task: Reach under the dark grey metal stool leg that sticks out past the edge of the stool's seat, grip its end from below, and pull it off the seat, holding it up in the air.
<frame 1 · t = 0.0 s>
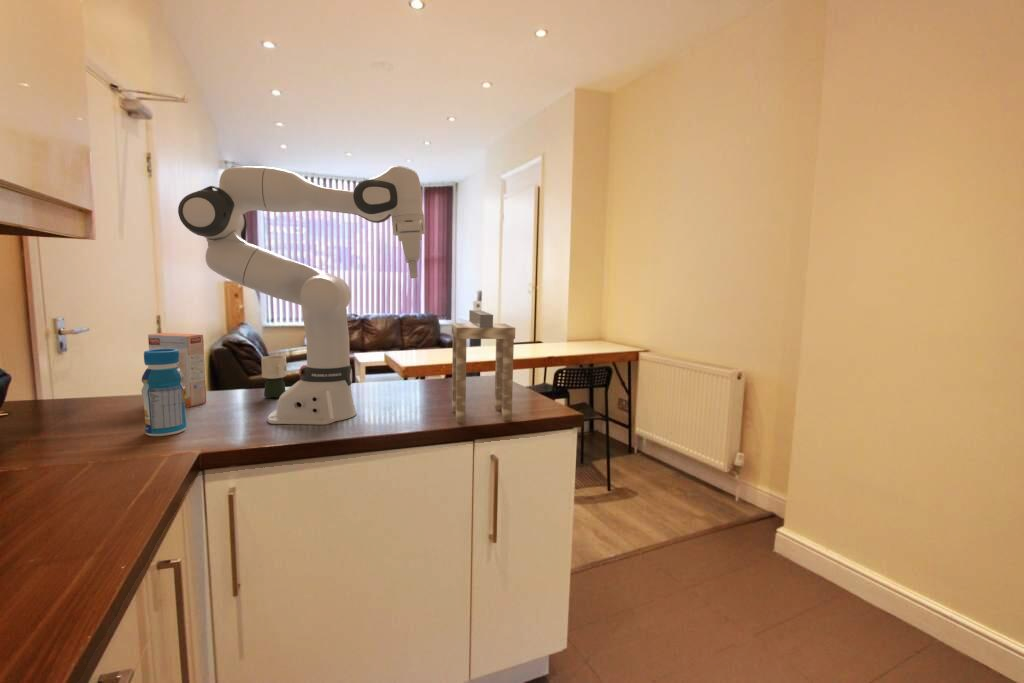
hand: (414, 278, 133), 39 cm above the worktop, tool pointing down, fingers open, 8 cm apart
stool: (480, 414, 137), on the worktop
beverage bottle: (166, 432, 115), on the worktop
cracker box: (179, 404, 141), on the worktop
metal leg: (480, 324, 138), point 26 cm above the worktop, touching stool
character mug: (275, 397, 151), on the worktop
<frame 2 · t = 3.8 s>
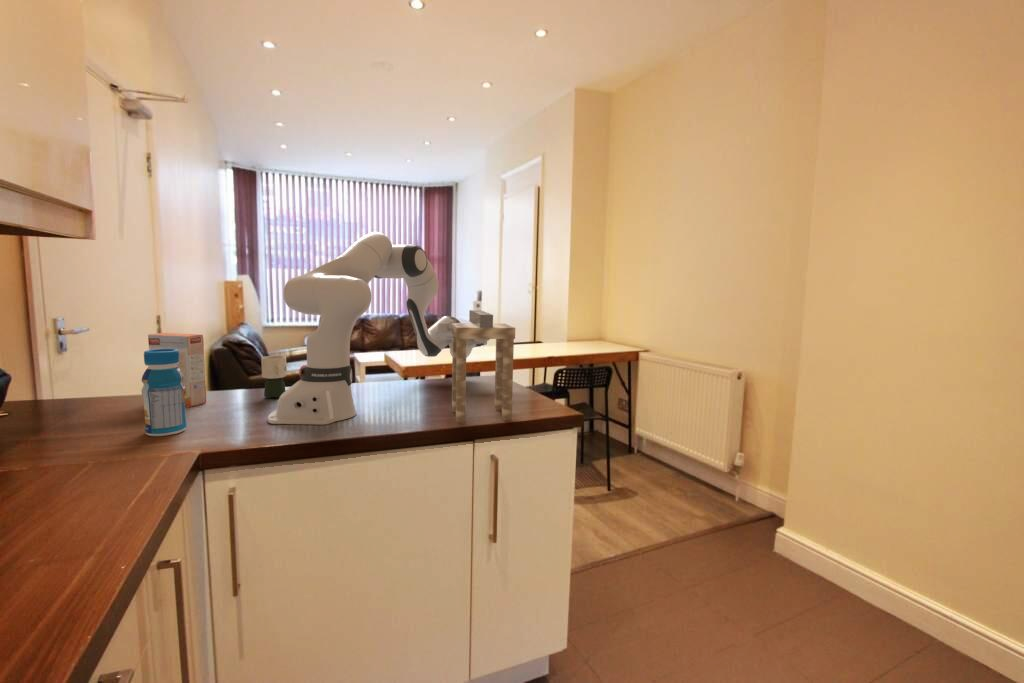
hand: (468, 321, 165), 25 cm above the worktop, tool pointing upward, fingers open, 8 cm apart
nothing on the worktop moved.
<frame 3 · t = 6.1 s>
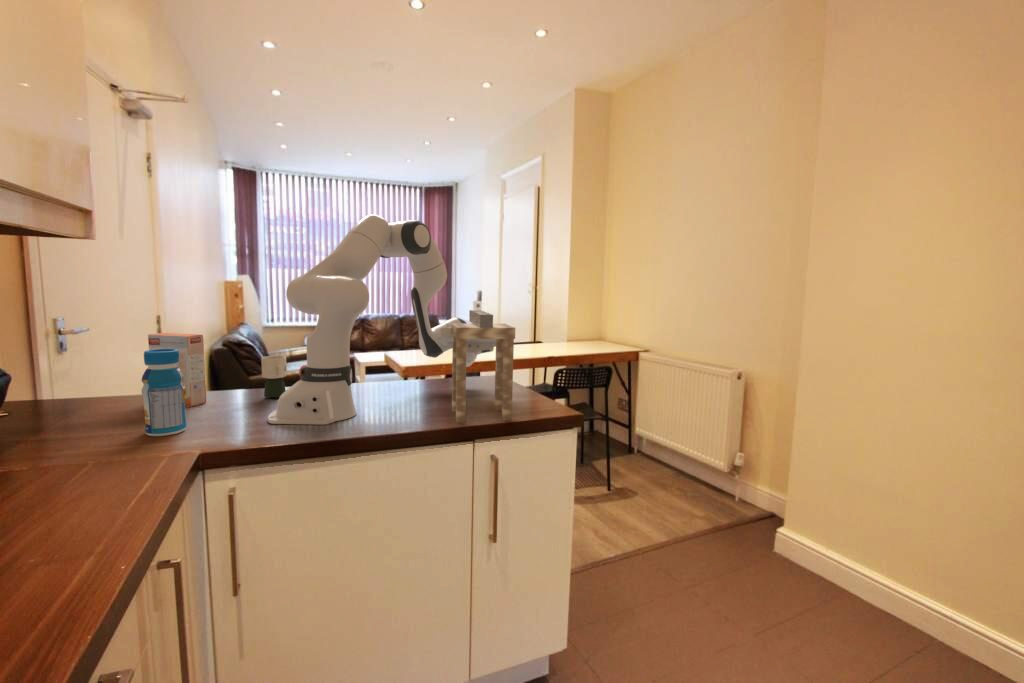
hand: (473, 325, 151), 24 cm above the worktop, tool pointing upward, fingers open, 8 cm apart
nothing on the worktop moved.
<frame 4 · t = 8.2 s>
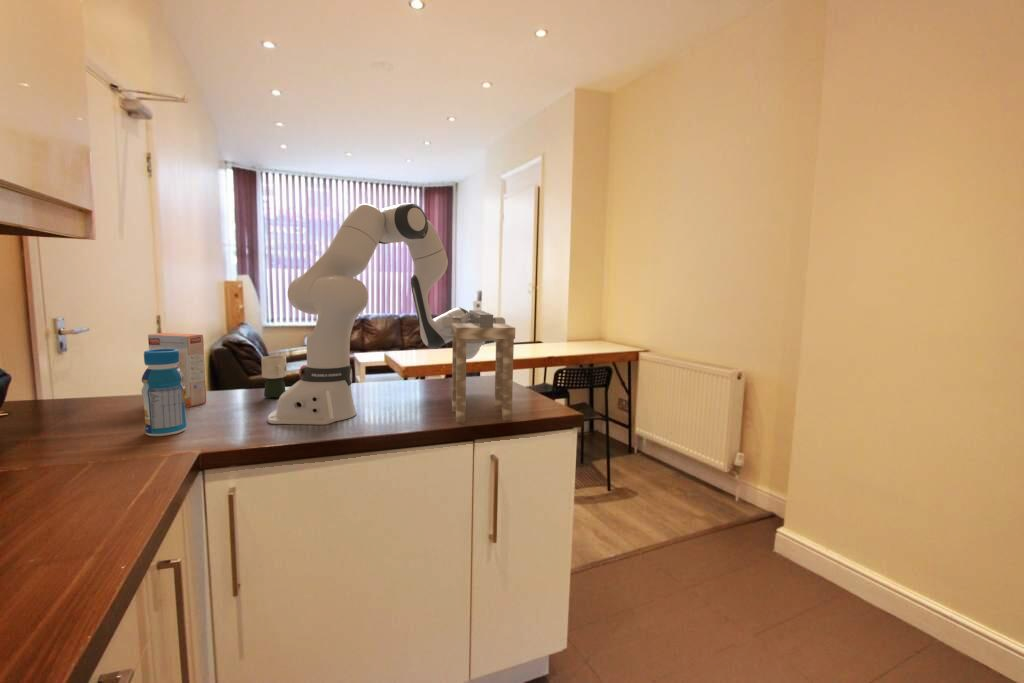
hand: (476, 315, 145), 28 cm above the worktop, tool pointing upward, fingers closed on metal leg, 3 cm apart
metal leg: (480, 324, 138), point 26 cm above the worktop, touching gripper, stool
everything else where it was.
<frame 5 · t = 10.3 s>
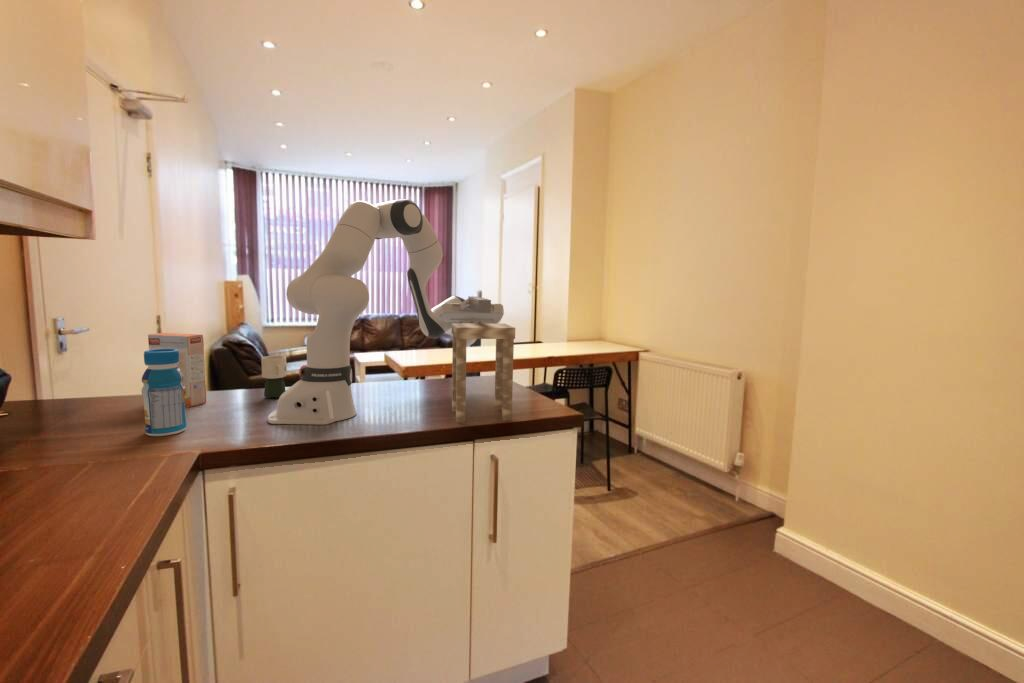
hand: (475, 301, 148), 32 cm above the worktop, tool pointing upward, fingers closed on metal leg, 3 cm apart
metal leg: (478, 309, 141), point 30 cm above the worktop, touching gripper
everything else where it was.
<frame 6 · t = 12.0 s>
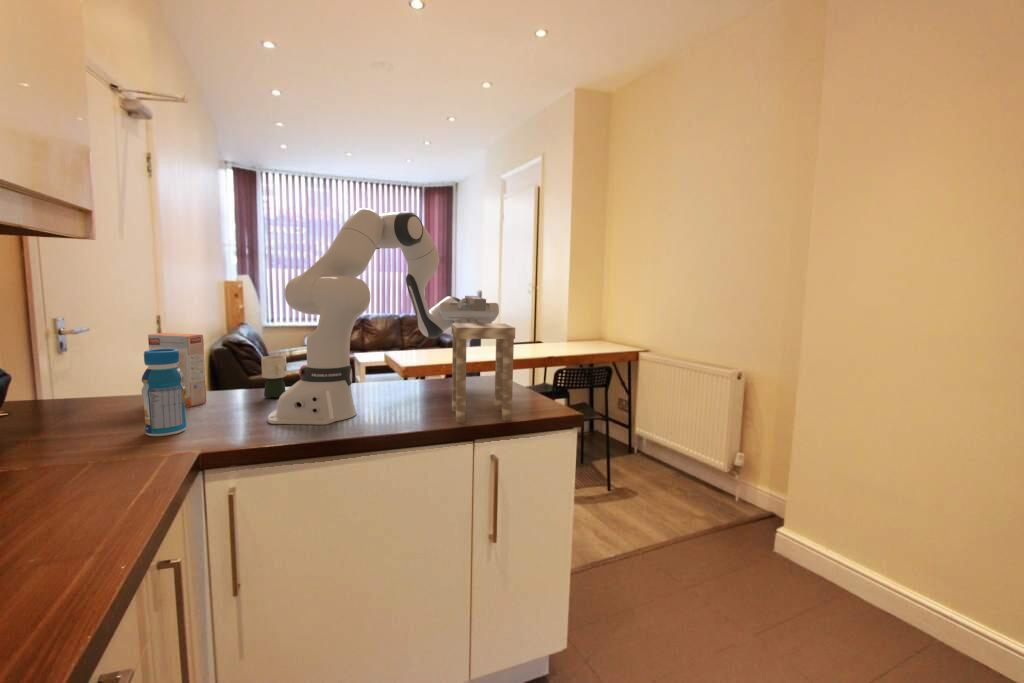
hand: (471, 300, 156), 32 cm above the worktop, tool pointing upward, fingers closed on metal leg, 3 cm apart
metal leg: (474, 308, 149), point 30 cm above the worktop, touching gripper
everything else where it was.
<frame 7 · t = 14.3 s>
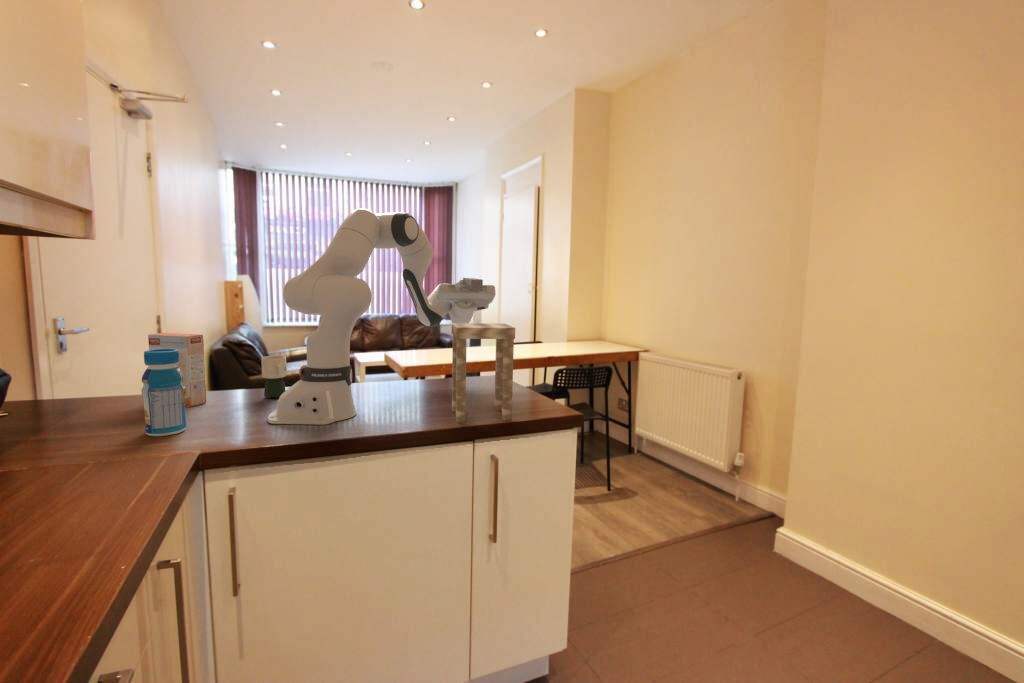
hand: (469, 281, 162), 38 cm above the worktop, tool pointing upward, fingers closed on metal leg, 3 cm apart
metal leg: (471, 289, 155), point 36 cm above the worktop, touching gripper
everything else where it was.
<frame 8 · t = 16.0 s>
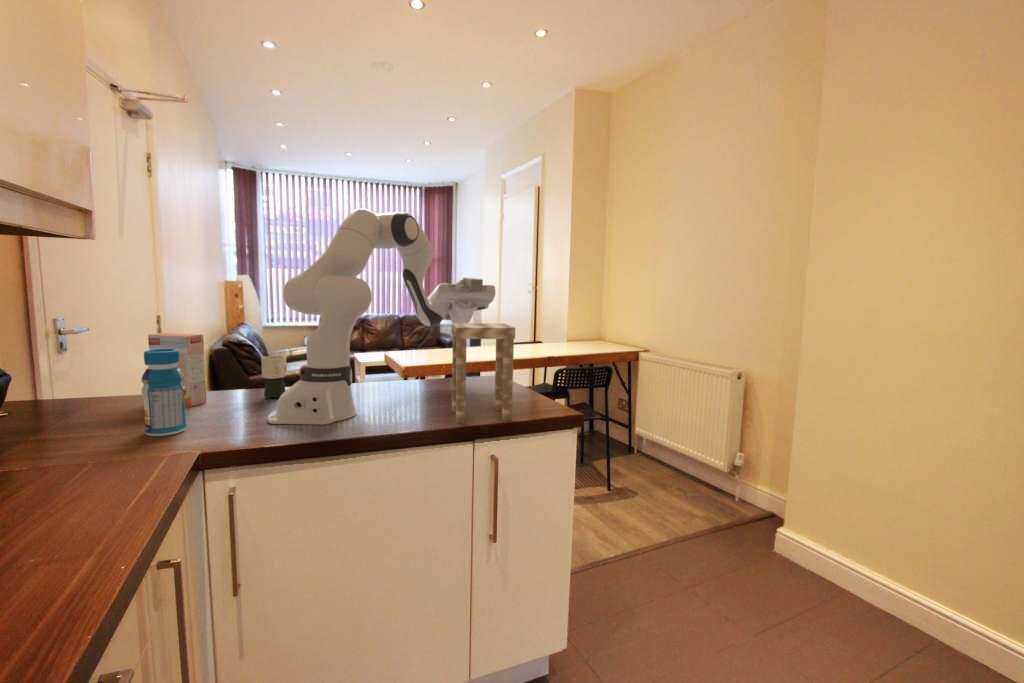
hand: (469, 281, 162), 38 cm above the worktop, tool pointing upward, fingers closed on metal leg, 3 cm apart
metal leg: (471, 289, 155), point 36 cm above the worktop, touching gripper
everything else where it was.
at the end: the gripper is holding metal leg; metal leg touching gripper; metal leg moved 21.5 cm from its start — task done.
